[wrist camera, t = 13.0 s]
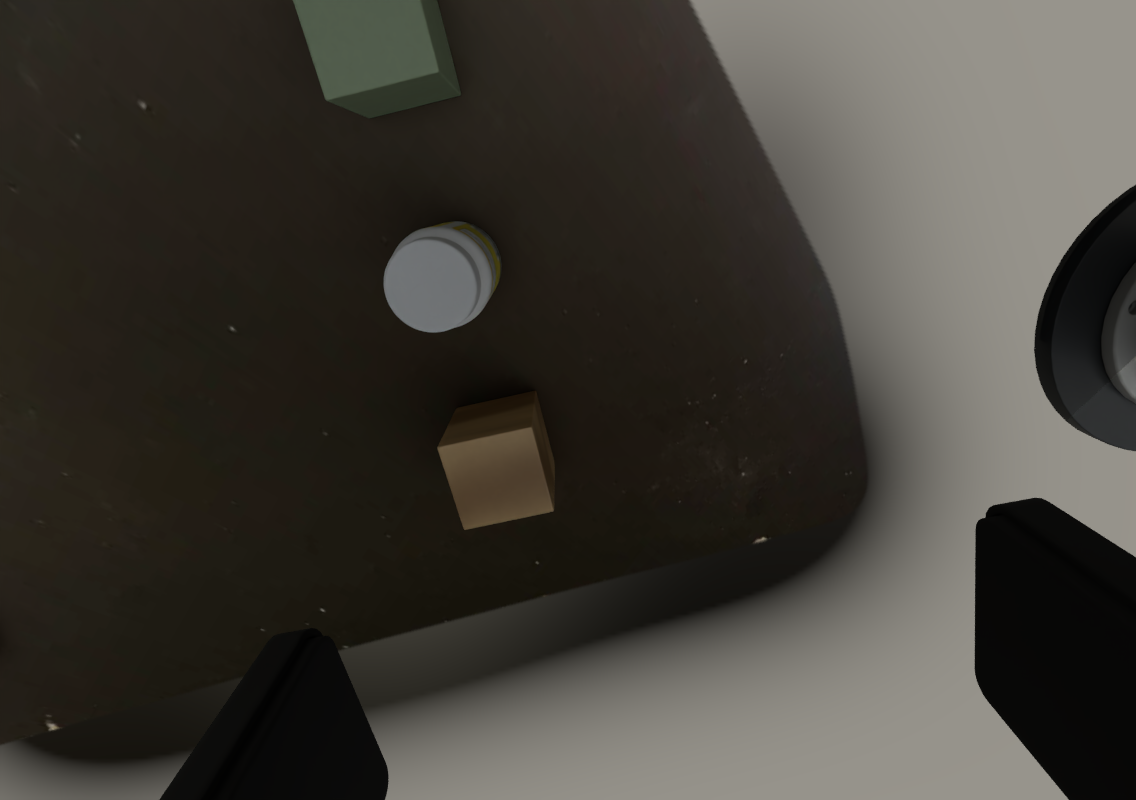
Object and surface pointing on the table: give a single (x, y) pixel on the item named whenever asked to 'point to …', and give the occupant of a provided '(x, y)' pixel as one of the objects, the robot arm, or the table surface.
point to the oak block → (499, 460)
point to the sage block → (379, 53)
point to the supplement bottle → (442, 276)
